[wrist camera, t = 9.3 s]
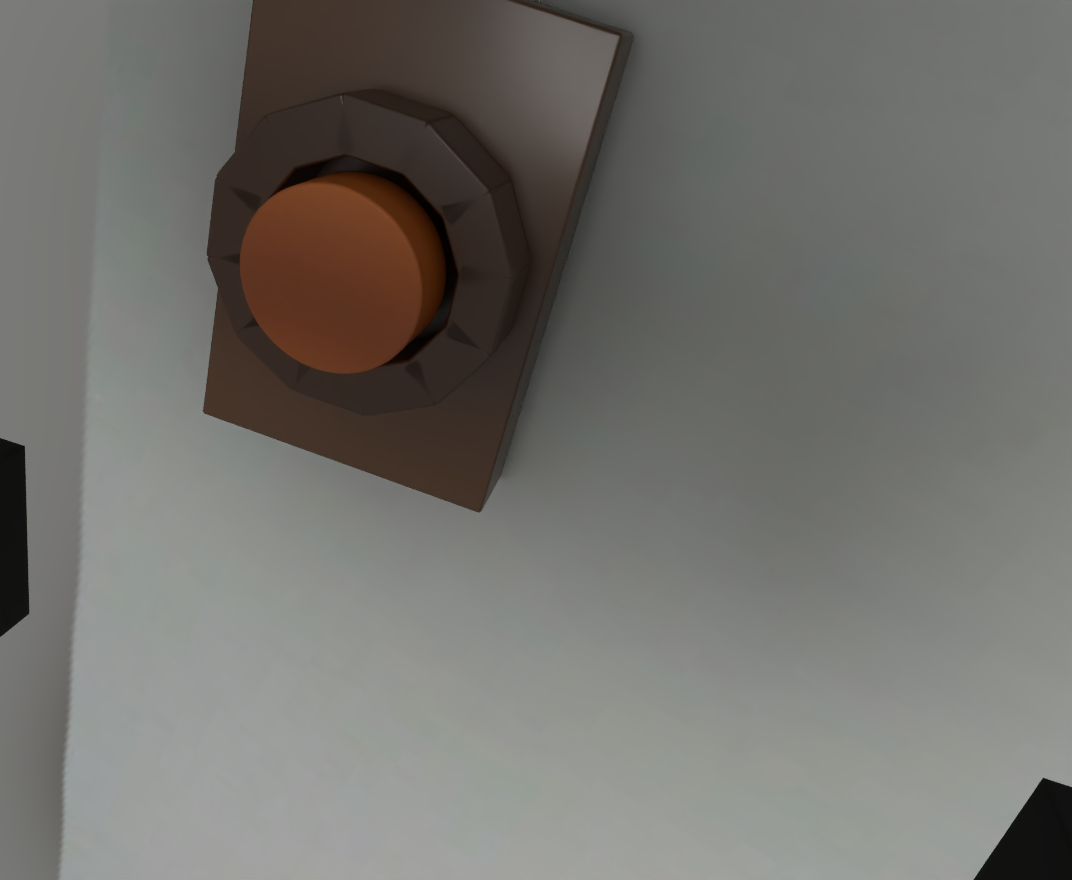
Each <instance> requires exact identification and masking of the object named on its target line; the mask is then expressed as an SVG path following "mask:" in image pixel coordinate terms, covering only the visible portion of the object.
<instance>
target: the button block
mask: <svg viewBox="0 0 1072 880" xmlns="http://www.w3.org/2000/svg"><path fill="white" fill-rule="evenodd" d="M633 38H634V34H632V33H631V32H628V31H625V30H622V29H619V28H616V27H613V26H609V25H606V24H603V23H600V22H597V21H594V20H591V19H588V18H584V17H581V16H578V15H575V14H572V13H569V12H566V11H563V10H560V9H556V8H553V7H550V6H547V5H544V4H541V3H538V2H535V1H531V0H253V7H252V15H251V24H250V32H249V40H248V48H247V56H246V65H245V73H244V81H243V89H242V97H241V106H240V114H239V122H238V130H237V138H236V147H235V152H234V154H233V155H232V156H231V157H230V159H229V160H228V161H227V162H226V164H225V165H224V166H223V167H222V169H221V170H220V171H219V172H218V174H217V178H216V180H215V186H214V195H213V204H212V212H211V221H210V230H209V239H208V248H207V256H209V257H208V262H209V265H210V268H211V270H212V273H213V276H214V278H215V281H216V284H217V286H218V294H217V302H216V311H215V319H214V327H213V335H212V343H211V352H210V360H209V368H208V376H207V384H206V393H205V401H204V409H203V412H204V413H205V414H207V415H210V416H213V417H216V418H218V419H221V420H224V421H227V422H229V423H232V424H235V425H238V426H241V427H243V428H246V429H249V430H252V431H254V432H257V433H260V434H263V435H265V436H268V437H271V438H274V439H277V440H279V441H282V442H285V443H288V444H290V445H293V446H296V447H299V448H301V449H304V450H307V451H310V452H313V453H315V454H318V455H321V456H324V457H326V458H329V459H332V460H335V461H337V462H340V463H343V464H346V465H349V466H351V467H354V468H357V469H360V470H362V471H365V472H368V473H371V474H373V475H376V476H379V477H382V478H384V479H387V480H390V481H393V482H396V483H398V484H401V485H404V486H407V487H409V488H412V489H415V490H418V491H420V492H423V493H426V494H429V495H432V496H434V497H437V498H440V499H443V500H445V501H448V502H451V503H454V504H456V505H459V506H462V507H465V508H468V509H470V510H473V511H476V512H481V511H482V509H483V507H484V505H485V504H486V502H487V500H488V498H489V496H490V494H491V493H492V491H493V489H494V487H495V485H496V483H497V482H498V480H499V478H500V476H501V472H502V469H503V466H504V463H505V459H506V456H507V453H508V449H509V446H510V443H511V440H512V436H513V433H514V430H515V426H516V423H517V420H518V416H519V413H520V410H521V407H522V403H523V400H524V397H525V393H526V390H527V387H528V384H529V380H530V377H531V374H532V370H533V367H534V364H535V361H536V357H537V354H538V351H539V347H540V344H541V341H542V338H543V334H544V331H545V328H546V324H547V321H548V318H549V314H550V311H551V308H552V305H553V301H554V298H555V295H556V291H557V288H558V285H559V282H560V278H561V275H562V272H563V268H564V265H565V262H566V259H567V255H568V252H569V249H570V245H571V242H572V239H573V236H574V232H575V229H576V226H577V222H578V219H579V216H580V212H581V209H582V206H583V203H584V199H585V196H586V193H587V189H588V186H589V183H590V180H591V176H592V173H593V170H594V166H595V163H596V160H597V157H598V153H599V150H600V147H601V143H602V140H603V137H604V134H605V130H606V127H607V124H608V120H609V117H610V114H611V110H612V107H613V104H614V101H615V97H616V94H617V91H618V87H619V84H620V81H621V78H622V74H623V71H624V68H625V64H626V61H627V58H628V55H629V51H630V48H631V45H632V41H633ZM340 171H360V172H367V173H370V174H374V175H378V176H380V177H382V178H385V179H387V180H389V181H391V182H393V183H395V184H396V185H398V186H400V187H401V188H402V189H404V190H405V191H406V192H408V193H409V194H410V195H411V196H412V197H413V198H414V199H415V200H416V201H417V202H418V203H419V204H420V205H421V206H422V207H423V209H424V210H425V211H426V212H427V214H428V215H429V217H430V219H431V220H432V222H433V223H434V225H435V227H436V230H437V232H438V234H439V236H440V239H441V242H442V245H443V249H444V254H445V258H446V270H447V271H446V285H445V291H444V295H443V298H442V301H441V304H440V307H439V309H438V311H437V313H436V315H435V316H434V318H433V319H432V321H431V322H430V323H429V324H428V326H427V327H426V328H425V329H424V330H423V331H422V332H421V333H420V334H419V335H418V336H417V337H416V338H414V339H413V340H412V341H411V342H410V343H409V344H408V345H407V346H406V347H405V348H404V349H403V350H402V351H400V352H399V353H398V354H397V355H396V356H395V357H393V358H392V359H391V360H389V361H388V362H386V363H384V364H383V365H381V366H379V367H376V368H374V369H372V370H368V371H364V372H360V373H351V374H339V373H331V372H325V371H321V370H318V369H314V368H312V367H309V366H307V365H305V364H302V363H301V362H299V361H297V360H295V359H294V358H292V357H291V356H289V355H288V354H286V353H285V352H284V351H282V350H281V349H280V348H279V347H278V346H277V345H276V344H274V343H273V342H272V341H271V339H270V338H269V337H268V336H267V335H266V334H265V333H264V331H263V330H262V328H261V327H260V326H259V324H258V323H257V321H256V319H255V318H254V316H253V314H252V312H251V310H250V308H249V306H248V303H247V301H246V298H245V295H244V291H243V288H242V282H241V277H240V251H241V246H242V241H243V238H244V235H245V232H246V229H247V227H248V225H249V223H250V221H251V219H252V217H253V216H254V215H255V213H256V212H257V210H258V209H259V208H260V207H261V206H262V205H263V204H264V203H265V202H266V201H267V200H268V199H269V198H271V197H272V196H273V195H275V194H276V193H278V192H280V191H282V190H284V189H285V188H288V187H291V186H294V185H297V184H300V183H303V182H306V181H309V180H312V179H315V178H317V177H320V176H323V175H327V174H330V173H334V172H340Z"/></svg>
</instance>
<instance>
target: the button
mask: <svg viewBox="0 0 1072 880" xmlns="http://www.w3.org/2000/svg"><path fill="white" fill-rule="evenodd" d="M446 271H447V270H446V258H445V254H444V249H443V245H442V242H441V239H440V236H439V234H438V232H437V230H436V227H435V225H434V223H433V222H432V220H431V219H430V217H429V215H428V214H427V212H426V211H425V210H424V209H423V207H422V206H421V205H420V204H419V203H418V202H417V201H416V200H415V199H414V198H413V197H412V196H411V195H410V194H409V193H408V192H406V191H405V190H404V189H402V188H401V187H400V186H398V185H396V184H395V183H393V182H391V181H389V180H387V179H385V178H382V177H380V176H378V175H374V174H370V173H367V172H360V171H340V172H334V173H330V174H327V175H323V176H320V177H317V178H315V179H312V180H309V181H306V182H303V183H300V184H297V185H294V186H291V187H288V188H285V189H284V190H282V191H280V192H278V193H276V194H275V195H273V196H272V197H271V198H269V199H268V200H267V201H266V202H265V203H264V204H263V205H262V206H261V207H260V208H259V209H258V210H257V212H256V213H255V215H254V216H253V217H252V219H251V221H250V223H249V225H248V227H247V229H246V232H245V235H244V238H243V241H242V246H241V251H240V277H241V282H242V288H243V291H244V295H245V298H246V301H247V303H248V306H249V308H250V310H251V312H252V314H253V316H254V318H255V319H256V321H257V323H258V324H259V326H260V327H261V328H262V330H263V331H264V333H265V334H266V335H267V336H268V337H269V338H270V339H271V341H272V342H273V343H274V344H276V345H277V346H278V347H279V348H280V349H281V350H282V351H284V352H285V353H286V354H288V355H289V356H291V357H292V358H294V359H295V360H297V361H299V362H301V363H302V364H305V365H307V366H309V367H312V368H314V369H318V370H321V371H325V372H331V373H339V374H351V373H360V372H364V371H368V370H372V369H374V368H376V367H379V366H381V365H383V364H384V363H386V362H388V361H389V360H391V359H392V358H393V357H395V356H396V355H397V354H398V353H399V352H400V351H402V350H403V349H404V348H405V347H406V346H407V345H408V344H409V343H410V342H411V341H412V340H413V339H414V338H416V337H417V336H418V335H419V334H420V333H421V332H422V331H423V330H424V329H425V328H426V327H427V326H428V324H429V323H430V322H431V321H432V319H433V318H434V316H435V315H436V313H437V311H438V309H439V307H440V304H441V301H442V298H443V295H444V291H445V285H446Z"/></svg>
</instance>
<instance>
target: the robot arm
mask: <svg viewBox="0 0 1072 880" xmlns="http://www.w3.org/2000/svg"><path fill="white" fill-rule="evenodd" d="M26 513H27V512H26V475H25V446H23V445H19V444H16V443H13V442H10V441H7V440H4V439H1V438H0V637H1V636H2V635H3V634H5V633H6V632H7V631H8V630H9V629H11V628H12V627H13V626H14V625H16V624H17V623H18V622H19V621H21V620H22V619H23V618H24V617H26V616H27V615H28V614H29V588H28V550H27V516H26V515H27V514H26ZM974 880H1072V787H1069V786H1066V785H1063V784H1060V783H1057V782H1054V781H1051V780H1048V779H1045V778H1043V779H1042V780H1041V782H1040V783H1039V785H1038V786H1037V788H1036V789H1035V791H1034V792H1033V793H1032V795H1031V796H1030V798H1029V799H1028V801H1027V802H1026V804H1025V805H1024V807H1023V808H1022V810H1021V811H1020V813H1019V814H1018V815H1017V817H1016V818H1015V820H1014V821H1013V823H1012V824H1011V826H1010V827H1009V829H1008V830H1007V832H1006V833H1005V834H1004V836H1003V837H1002V839H1001V840H1000V842H999V843H998V845H997V846H996V848H995V849H994V851H993V852H992V854H991V855H990V856H989V858H988V859H987V861H986V862H985V864H984V865H983V867H982V868H981V870H980V871H979V873H978V874H977V876H976V877H975V878H974Z"/></svg>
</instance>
